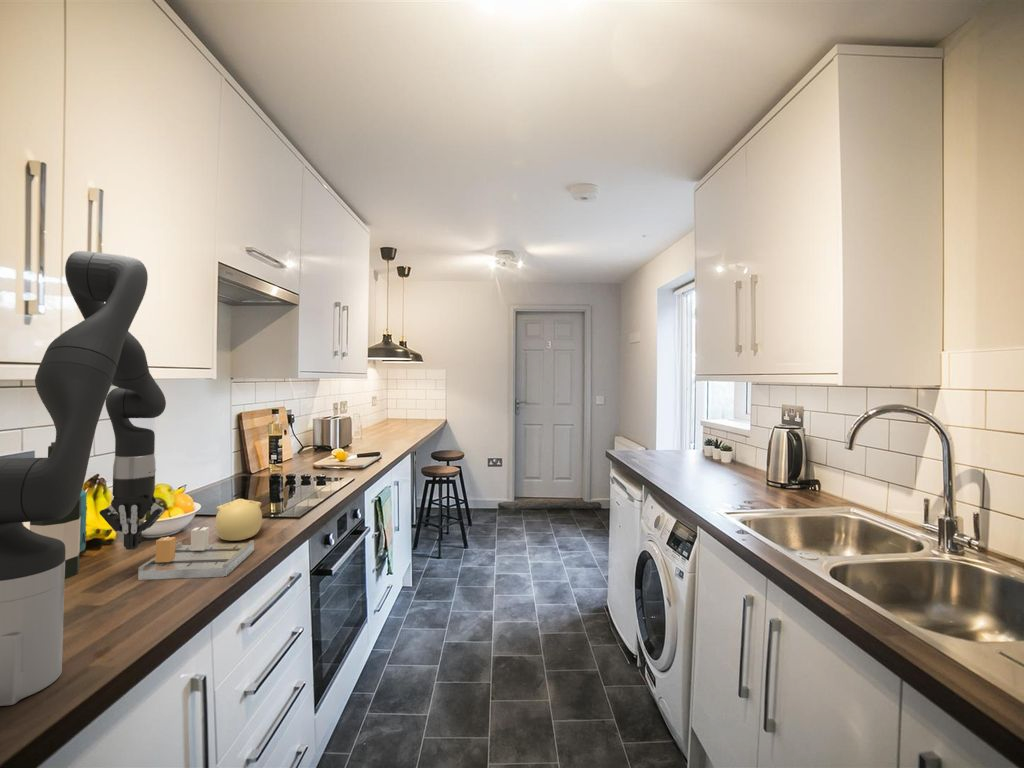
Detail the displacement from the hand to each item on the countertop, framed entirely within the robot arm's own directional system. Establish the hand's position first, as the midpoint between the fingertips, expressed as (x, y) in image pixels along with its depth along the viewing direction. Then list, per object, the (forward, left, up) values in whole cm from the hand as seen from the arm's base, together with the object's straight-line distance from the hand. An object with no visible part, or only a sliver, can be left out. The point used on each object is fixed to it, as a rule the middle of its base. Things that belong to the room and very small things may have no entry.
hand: (132, 548), depth 104 cm
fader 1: (0, -7, -3) cm, 8 cm away
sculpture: (+22, -14, -6) cm, 27 cm away
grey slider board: (+3, -13, -5) cm, 14 cm away
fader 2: (+7, -11, -3) cm, 13 cm away
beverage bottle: (+10, +20, -6) cm, 23 cm away
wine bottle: (-1, +15, -6) cm, 16 cm away
